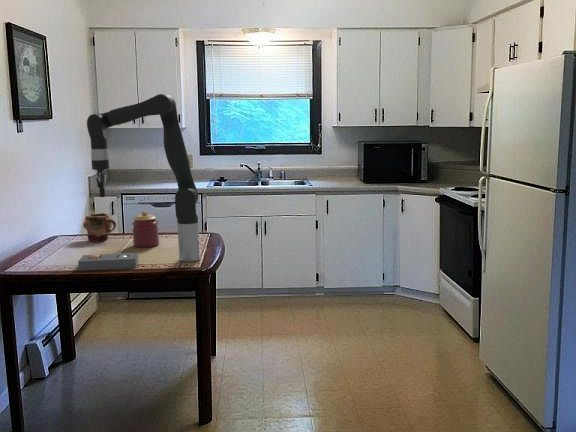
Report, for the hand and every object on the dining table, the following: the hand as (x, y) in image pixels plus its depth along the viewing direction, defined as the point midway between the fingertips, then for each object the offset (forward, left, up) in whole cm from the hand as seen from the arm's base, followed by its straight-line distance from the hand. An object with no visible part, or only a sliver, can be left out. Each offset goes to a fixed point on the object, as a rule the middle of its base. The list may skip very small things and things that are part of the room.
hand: (102, 196), depth 281 cm
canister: (-16, -26, -29) cm, 42 cm away
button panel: (-3, +14, -29) cm, 32 cm away
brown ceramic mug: (+9, -44, -29) cm, 54 cm away
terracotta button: (+3, +14, -27) cm, 31 cm away
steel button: (-9, +14, -28) cm, 33 cm away
